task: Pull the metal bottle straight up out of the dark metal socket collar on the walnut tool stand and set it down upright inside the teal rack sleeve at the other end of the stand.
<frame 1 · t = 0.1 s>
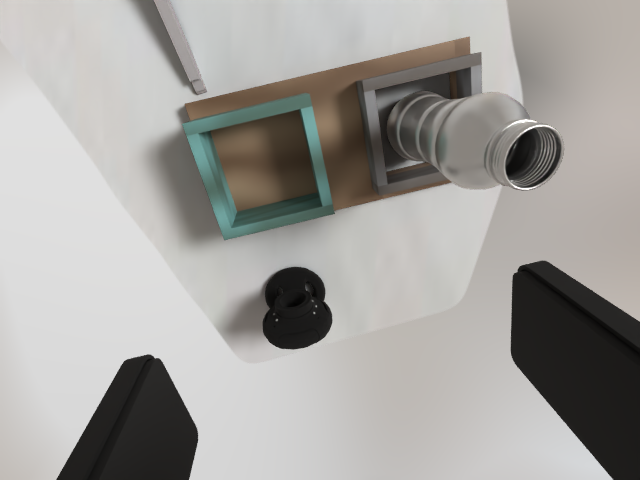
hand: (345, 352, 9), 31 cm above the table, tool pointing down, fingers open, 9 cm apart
tool stand: (338, 141, 38), on the table
webcam: (295, 290, 45), on the table
metal bottle: (410, 124, 38), resting in tool stand
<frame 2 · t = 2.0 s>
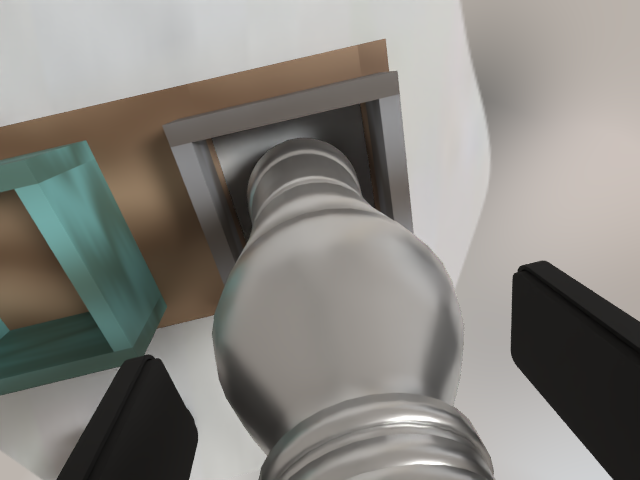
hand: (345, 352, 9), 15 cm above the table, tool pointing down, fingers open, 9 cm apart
tool stand: (178, 214, 22), on the table
metal bottle: (301, 184, 23), resting in tool stand
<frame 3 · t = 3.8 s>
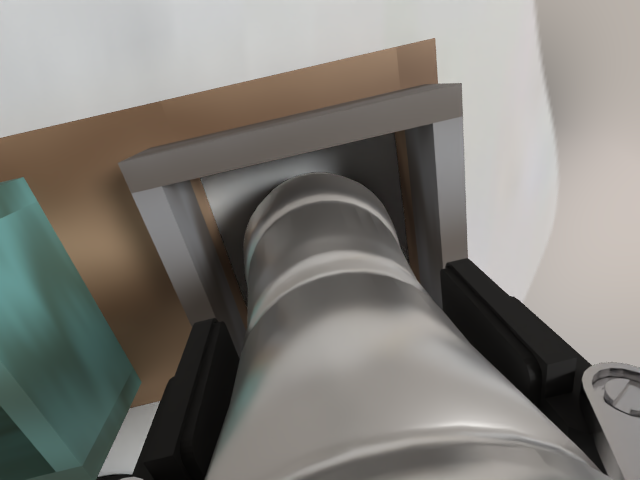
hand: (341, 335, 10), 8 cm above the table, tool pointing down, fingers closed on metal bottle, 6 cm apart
tool stand: (156, 266, 17), on the table
metal bottle: (314, 227, 17), resting in tool stand, touching gripper
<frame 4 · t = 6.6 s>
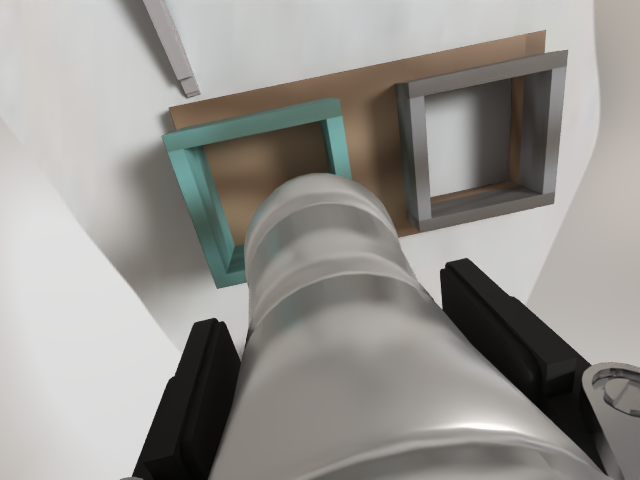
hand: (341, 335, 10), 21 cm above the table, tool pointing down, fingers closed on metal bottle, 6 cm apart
tool stand: (367, 160, 30), on the table
metal bottle: (315, 227, 17), point 13 cm above the table, touching gripper
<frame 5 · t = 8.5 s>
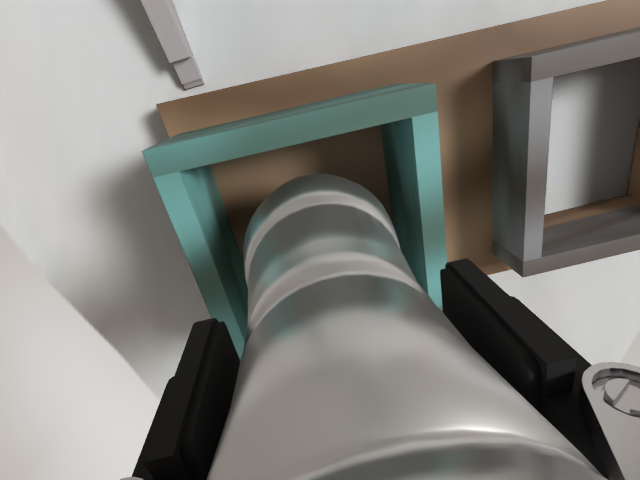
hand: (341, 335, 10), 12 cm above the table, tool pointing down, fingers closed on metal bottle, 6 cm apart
tool stand: (438, 172, 21), on the table
metal bottle: (314, 228, 17), point 4 cm above the table, touching gripper
when the fingers open (10 cm above the table, at t = 9.9 s): metal bottle stays where it is, resting on tool stand.
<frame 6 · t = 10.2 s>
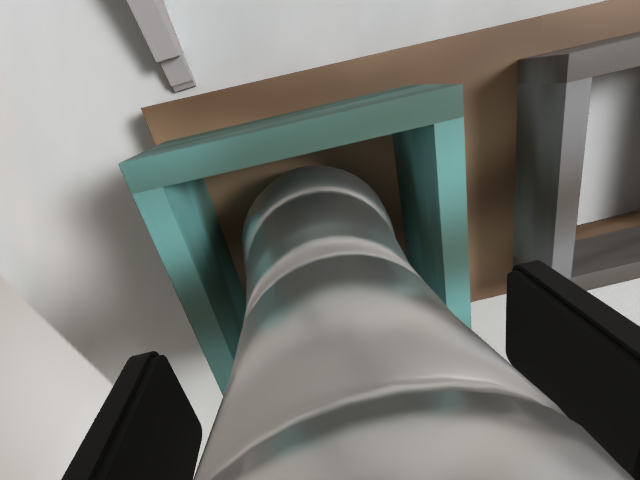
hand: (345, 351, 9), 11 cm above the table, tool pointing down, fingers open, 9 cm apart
tool stand: (454, 182, 19), on the table
metal bottle: (312, 220, 18), point 1 cm above the table, touching tool stand
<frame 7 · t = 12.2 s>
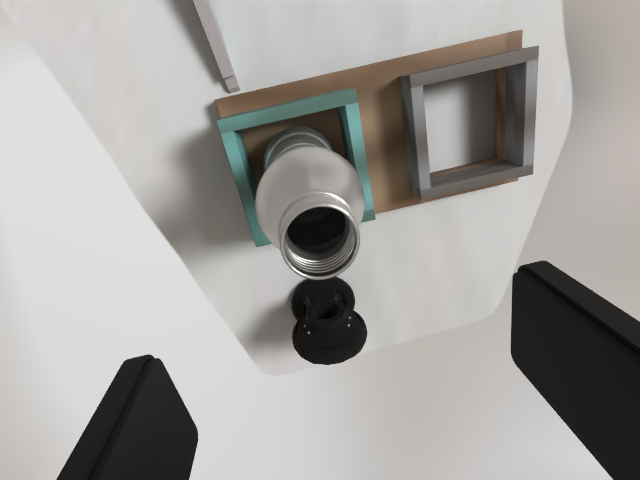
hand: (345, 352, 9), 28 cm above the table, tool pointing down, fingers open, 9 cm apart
tool stand: (376, 141, 35), on the table
webcam: (322, 299, 42), on the table
metal bottle: (298, 159, 34), point 1 cm above the table, touching tool stand
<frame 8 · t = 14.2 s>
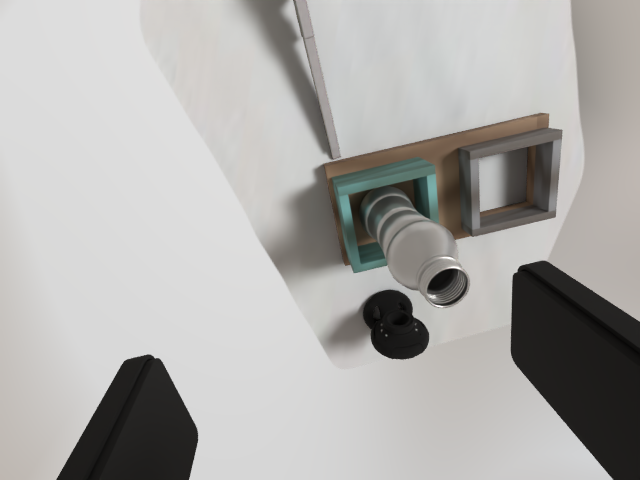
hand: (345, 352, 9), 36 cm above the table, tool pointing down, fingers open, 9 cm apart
tool stand: (436, 191, 47), on the table
webcam: (386, 308, 54), on the table
metal bottle: (380, 206, 45), point 1 cm above the table, touching tool stand
caliper: (313, 70, 40), on the table
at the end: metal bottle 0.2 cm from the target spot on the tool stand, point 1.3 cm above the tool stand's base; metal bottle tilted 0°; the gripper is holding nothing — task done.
